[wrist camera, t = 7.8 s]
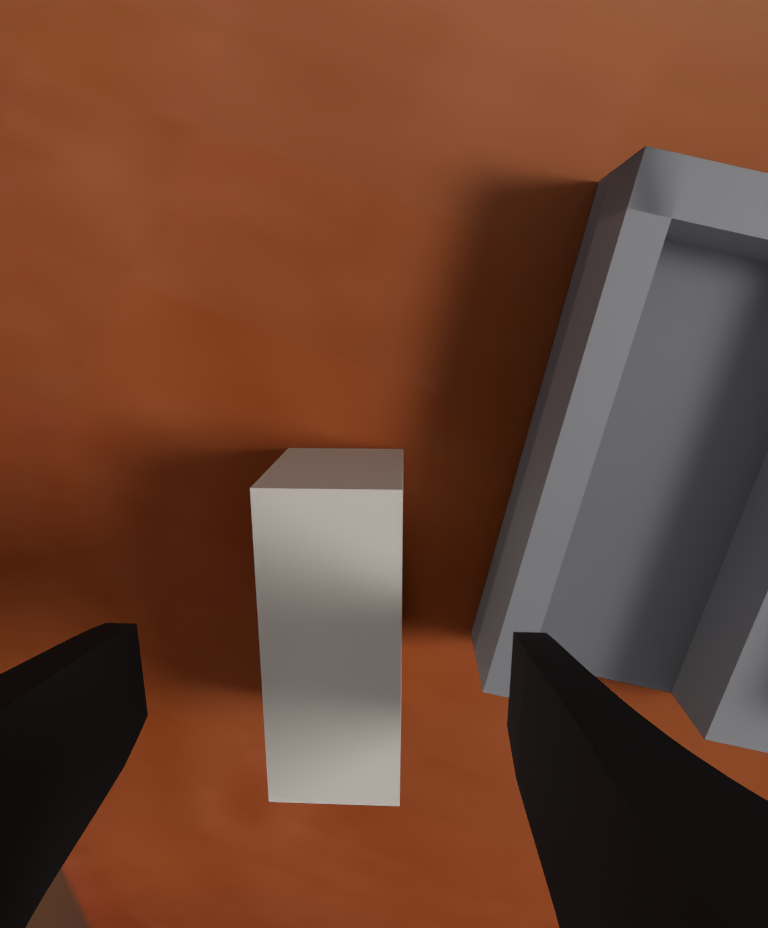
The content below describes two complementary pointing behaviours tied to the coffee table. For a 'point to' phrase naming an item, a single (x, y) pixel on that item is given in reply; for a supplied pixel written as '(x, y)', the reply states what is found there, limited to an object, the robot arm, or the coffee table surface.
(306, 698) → the tall white block
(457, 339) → the coffee table surface
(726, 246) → the grey two-slot rack
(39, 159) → the coffee table surface
